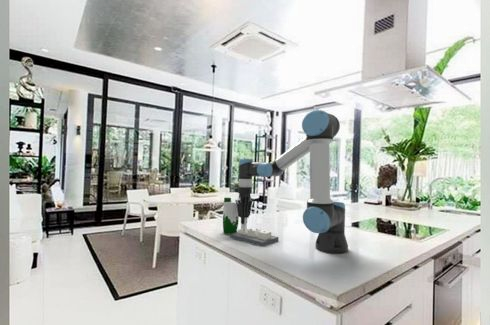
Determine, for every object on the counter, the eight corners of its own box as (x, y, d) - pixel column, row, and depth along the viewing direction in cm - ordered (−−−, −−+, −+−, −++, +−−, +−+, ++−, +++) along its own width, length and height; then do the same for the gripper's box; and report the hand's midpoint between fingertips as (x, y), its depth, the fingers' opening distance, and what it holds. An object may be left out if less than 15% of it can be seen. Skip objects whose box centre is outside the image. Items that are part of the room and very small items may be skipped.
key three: (250, 236, 151) (250, 229, 151) (244, 238, 147) (244, 231, 147) (243, 234, 154) (243, 228, 154) (237, 236, 150) (237, 229, 150)
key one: (271, 238, 142) (271, 231, 142) (265, 240, 138) (265, 233, 138) (263, 236, 145) (263, 229, 145) (257, 238, 141) (257, 231, 141)
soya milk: (223, 230, 164) (224, 196, 164) (238, 230, 164) (239, 197, 164) (221, 234, 155) (222, 198, 155) (237, 234, 155) (238, 199, 155)
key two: (260, 236, 146) (260, 229, 146) (254, 237, 142) (254, 230, 142) (253, 234, 149) (253, 227, 149) (247, 236, 146) (247, 229, 146)
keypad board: (278, 240, 144) (278, 237, 144) (262, 246, 133) (262, 242, 133) (246, 233, 158) (246, 229, 158) (229, 237, 148) (229, 234, 148)
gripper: (247, 185, 158) (246, 226, 158) (231, 186, 148) (230, 230, 148) (257, 186, 153) (256, 228, 153) (242, 187, 143) (241, 232, 143)
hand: (243, 229), depth 150 cm, fingers closed
